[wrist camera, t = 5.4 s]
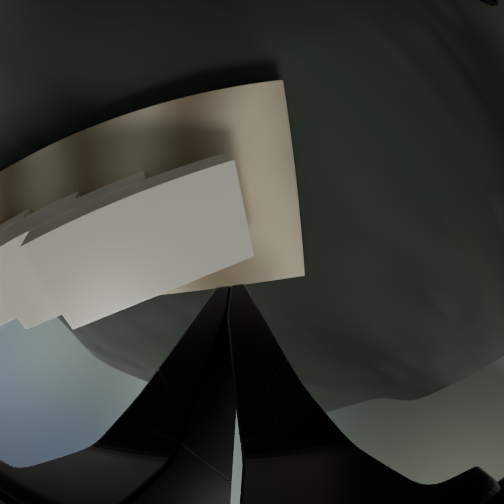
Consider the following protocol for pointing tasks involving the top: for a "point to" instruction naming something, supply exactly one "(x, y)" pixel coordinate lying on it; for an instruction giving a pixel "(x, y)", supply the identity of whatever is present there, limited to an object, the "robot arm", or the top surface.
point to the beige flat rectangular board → (179, 154)
